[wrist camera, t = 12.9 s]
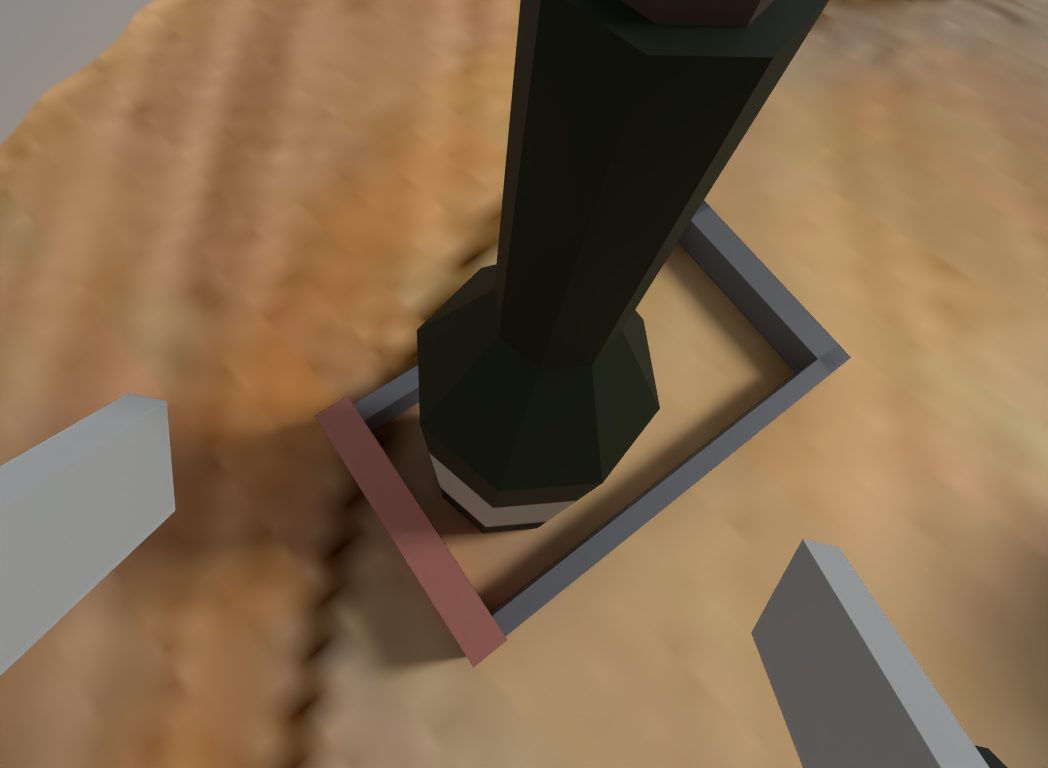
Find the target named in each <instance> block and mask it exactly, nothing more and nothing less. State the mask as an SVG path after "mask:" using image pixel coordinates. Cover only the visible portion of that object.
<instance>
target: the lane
mask: <svg viewBox="0 0 1048 768" xmlns="http://www.w3.org/2000/svg"><path fill="white" fill-rule="evenodd" d="M678 242H679V243H680V244H681V245H682V246H683V247H684V248H685V250H686V251H687V252H688V253H689V254H690V255H691V256H692V257H693V258H694V260H695V261H696V262H697V263H698V264H699V265H700V266H701V267H702V268H703V270H704V271H705V272H706V273H707V274H708V275H709V276H710V277H711V278H712V280H713V281H714V282H715V283H716V284H717V285H718V286H719V287H720V288H721V290H722V291H723V292H724V293H725V294H726V295H727V296H728V297H729V298H730V300H731V301H732V302H733V303H734V304H735V305H736V306H737V307H738V308H739V310H740V311H741V312H742V313H743V314H744V315H745V316H746V317H747V318H748V320H749V321H750V322H751V323H752V324H753V325H754V326H755V327H756V328H757V330H758V331H759V332H760V333H761V334H762V335H763V336H764V337H765V338H766V340H767V341H768V342H769V343H770V344H771V345H772V346H773V347H774V349H775V350H776V351H777V352H778V353H779V354H780V355H781V356H782V357H783V359H784V360H785V361H786V362H787V363H788V364H789V365H790V366H791V367H792V369H793V370H794V371H795V372H796V373H795V374H794V375H793V376H791V377H790V378H789V379H788V380H786V381H785V382H784V383H782V384H781V385H780V386H779V387H777V388H776V389H775V390H774V391H772V392H771V393H770V394H768V395H767V396H766V397H765V398H763V399H762V400H761V401H760V402H758V403H757V404H756V405H754V406H753V407H752V408H751V409H749V410H748V411H747V412H745V413H744V414H743V415H742V416H740V417H739V418H738V419H737V420H735V421H734V422H733V423H731V424H730V425H729V426H728V427H726V428H725V429H724V430H723V431H721V432H720V433H719V434H717V435H716V436H715V437H714V438H712V439H711V440H710V441H709V442H707V443H706V444H705V445H703V446H702V447H701V448H700V449H698V450H697V451H696V452H695V453H693V454H692V455H691V456H689V457H688V458H687V459H686V460H684V461H683V462H682V463H681V464H679V465H678V466H677V467H675V468H674V469H673V470H672V471H670V472H669V473H668V474H667V475H665V476H664V477H663V478H661V479H660V480H659V481H658V482H656V483H655V484H654V485H653V486H651V487H650V488H649V489H647V490H646V491H645V492H644V493H642V494H641V495H640V496H639V497H637V498H636V499H635V500H633V501H632V502H631V503H630V504H628V505H627V506H626V507H625V508H623V509H622V510H621V511H619V512H618V513H617V514H616V515H614V516H613V517H612V518H611V519H609V520H608V521H607V522H605V523H604V524H603V525H602V526H600V527H599V528H598V529H596V530H595V531H594V532H593V533H591V534H590V535H589V536H588V537H586V538H585V539H584V540H582V541H581V542H580V543H579V544H577V545H576V546H575V547H574V548H572V549H571V550H570V551H568V552H567V553H566V554H565V555H563V556H562V557H561V558H560V559H558V560H557V561H556V562H554V563H553V564H552V565H551V566H549V567H548V568H547V569H546V570H544V571H543V572H542V573H540V574H539V575H538V576H537V577H535V578H534V579H533V580H532V581H530V582H529V583H528V584H526V585H525V586H524V587H523V588H521V589H520V590H519V591H518V592H516V593H515V594H514V595H512V596H511V597H510V598H509V599H507V600H506V601H505V602H504V603H502V604H501V605H500V606H498V607H497V608H496V609H495V610H493V611H492V612H491V613H490V612H489V611H488V609H487V608H486V606H485V605H484V603H483V602H482V600H481V599H480V597H479V595H478V594H477V592H476V591H475V589H474V588H473V586H472V585H471V583H470V582H469V580H468V579H467V577H466V576H465V574H464V573H463V571H462V570H461V568H460V566H459V565H458V563H457V562H456V560H455V559H454V557H453V556H452V554H451V553H450V551H449V550H448V548H447V547H446V545H445V544H444V542H443V541H442V539H441V537H440V536H439V534H438V533H437V531H436V530H435V528H434V527H433V525H432V524H431V522H430V521H429V519H428V518H427V516H426V515H425V513H424V512H423V510H422V508H421V507H420V505H419V504H418V502H417V501H416V499H415V498H414V496H413V495H412V493H411V492H410V490H409V489H408V487H407V486H406V484H405V483H404V481H403V479H402V478H401V476H400V475H399V473H398V472H397V470H396V469H395V467H394V466H393V464H392V463H391V461H390V460H389V458H388V457H387V455H386V454H385V452H384V450H383V449H382V447H381V446H380V444H379V443H378V441H377V440H376V438H375V437H374V435H373V434H372V431H373V430H375V429H376V428H378V427H380V426H381V425H383V424H384V423H386V422H388V421H389V420H391V419H392V418H394V417H396V416H397V415H399V414H400V413H402V412H404V411H405V410H407V409H408V408H410V407H412V406H413V405H415V404H416V403H418V402H419V377H418V365H417V366H416V367H414V368H412V369H411V370H409V371H407V372H406V373H404V374H402V375H401V376H399V377H397V378H396V379H394V380H392V381H391V382H389V383H387V384H386V385H384V386H382V387H381V388H379V389H377V390H376V391H374V392H372V393H371V394H369V395H368V396H366V397H364V398H363V399H361V400H359V401H358V402H356V403H354V404H353V403H352V402H351V400H350V399H349V397H348V396H347V397H345V398H343V399H342V400H340V401H338V402H337V403H335V404H333V405H332V406H330V407H328V408H327V409H325V410H323V411H322V412H320V413H318V414H317V415H315V417H316V419H317V421H318V422H319V424H320V425H321V427H322V428H323V430H324V432H325V433H326V435H327V436H328V438H329V440H330V441H331V443H332V444H333V446H334V447H335V449H336V451H337V452H338V454H339V455H340V457H341V459H342V460H343V462H344V463H345V465H346V466H347V468H348V470H349V471H350V473H351V474H352V476H353V478H354V479H355V481H356V482H357V484H358V485H359V487H360V489H361V490H362V492H363V493H364V495H365V497H366V498H367V500H368V501H369V503H370V504H371V506H372V508H373V509H374V511H375V512H376V514H377V516H378V517H379V519H380V520H381V522H382V523H383V525H384V527H385V528H386V530H387V531H388V533H389V535H390V536H391V538H392V539H393V541H394V542H395V544H396V546H397V547H398V549H399V550H400V552H401V554H402V555H403V557H404V558H405V560H406V561H407V563H408V565H409V566H410V568H411V569H412V571H413V573H414V574H415V576H416V577H417V579H418V581H419V582H420V584H421V585H422V587H423V588H424V590H425V592H426V593H427V595H428V596H429V598H430V600H431V601H432V603H433V604H434V606H435V607H436V609H437V611H438V612H439V614H440V615H441V617H442V619H443V620H444V622H445V623H446V625H447V626H448V628H449V630H450V631H451V633H452V634H453V636H454V638H455V639H456V641H457V642H458V644H459V645H460V647H461V649H462V650H463V652H464V653H465V655H466V657H467V658H468V660H469V661H470V663H471V664H472V666H473V667H474V666H476V665H477V664H478V663H479V662H481V661H482V660H483V659H484V658H486V657H487V656H488V655H489V654H490V653H492V652H493V651H494V650H495V649H497V648H498V647H499V646H500V645H502V644H503V643H504V642H505V641H507V639H506V637H505V636H507V635H508V634H509V633H510V632H512V631H513V630H514V629H515V628H517V627H518V626H519V625H520V624H521V623H523V622H524V621H525V620H526V619H528V618H529V617H530V616H531V615H533V614H534V613H535V612H536V611H538V610H539V609H540V608H541V607H543V606H544V605H545V604H546V603H547V602H549V601H550V600H551V599H552V598H554V597H555V596H556V595H557V594H559V593H560V592H561V591H562V590H564V589H565V588H566V587H567V586H569V585H570V584H571V583H572V582H573V581H575V580H576V579H577V578H578V577H580V576H581V575H582V574H583V573H585V572H586V571H587V570H588V569H590V568H591V567H592V566H593V565H595V564H596V563H597V562H598V561H599V560H601V559H602V558H603V557H604V556H606V555H607V554H608V553H609V552H611V551H612V550H613V549H614V548H616V547H617V546H618V545H619V544H621V543H622V542H623V541H624V540H626V539H627V538H628V537H629V536H630V535H632V534H633V533H634V532H635V531H637V530H638V529H639V528H640V527H642V526H643V525H644V524H645V523H647V522H648V521H649V520H650V519H652V518H653V517H654V516H655V515H656V514H658V513H659V512H660V511H661V510H663V509H664V508H665V507H666V506H668V505H669V504H670V503H671V502H673V501H674V500H675V499H676V498H678V497H679V496H680V495H681V494H682V493H684V492H685V491H686V490H687V489H689V488H690V487H691V486H692V485H694V484H695V483H696V482H697V481H699V480H700V479H701V478H702V477H704V476H705V475H706V474H707V473H708V472H710V471H711V470H712V469H713V468H715V467H716V466H717V465H718V464H720V463H721V462H722V461H723V460H725V459H726V458H727V457H728V456H730V455H731V454H732V453H733V452H734V451H736V450H737V449H738V448H739V447H741V446H742V445H743V444H744V443H746V442H747V441H748V440H749V439H751V438H752V437H753V436H754V435H756V434H757V433H758V432H759V431H760V430H762V429H763V428H764V427H765V426H767V425H768V424H769V423H770V422H772V421H773V420H774V419H775V418H777V417H778V416H779V415H780V414H782V413H783V412H784V411H785V410H786V409H788V408H789V407H790V406H791V405H793V404H794V403H795V402H796V401H798V400H799V399H800V398H801V397H803V396H804V395H805V394H806V393H808V392H809V391H810V390H811V389H812V388H814V387H815V386H816V385H817V384H819V383H820V382H821V381H822V380H824V379H825V378H826V377H827V376H829V375H830V374H831V373H832V372H834V371H835V370H836V369H837V368H838V367H840V366H841V365H842V364H843V363H845V362H846V361H847V360H848V359H850V358H851V357H850V356H849V355H848V354H847V353H846V352H845V351H844V350H843V348H842V347H841V346H840V345H839V344H838V343H837V342H836V341H835V340H834V339H833V338H832V337H831V336H830V335H829V333H828V332H827V331H826V330H825V329H824V328H823V327H822V326H821V325H820V324H819V323H818V322H817V321H816V320H815V319H814V317H813V316H812V315H811V314H810V313H809V312H808V311H807V310H806V309H805V308H804V307H803V306H802V305H801V304H800V302H799V301H798V300H797V299H796V298H795V297H794V296H793V295H792V294H791V293H790V292H789V291H788V290H787V289H786V288H785V286H784V285H783V284H782V283H781V282H780V281H779V280H778V279H777V278H776V277H775V276H774V275H773V274H772V273H771V271H770V270H769V269H768V268H767V267H766V266H765V265H764V264H763V263H762V262H761V261H760V260H759V259H758V258H757V257H756V255H755V254H754V253H753V252H752V251H751V250H750V249H749V248H748V247H747V246H746V245H745V244H744V243H743V242H742V240H741V239H740V238H739V237H738V236H737V235H736V234H735V233H734V232H733V231H732V230H731V229H730V228H729V227H728V225H727V224H726V223H725V222H724V221H723V220H722V219H721V218H720V217H719V216H718V215H717V214H716V213H715V212H714V211H713V209H712V208H711V207H710V206H709V205H708V204H707V203H706V202H705V201H704V200H703V202H702V204H701V205H700V207H699V208H698V210H697V212H696V213H695V215H694V216H693V218H692V220H691V221H690V223H689V224H688V226H687V228H686V229H685V231H684V232H683V234H682V236H681V237H680V239H679V240H678Z"/></svg>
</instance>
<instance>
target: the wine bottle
mask: <svg viewBox="0 0 1048 768" xmlns="http://www.w3.org/2000/svg"><path fill="white" fill-rule="evenodd" d="M828 1H829V0H521V2H520V13H519V24H518V35H517V46H516V57H515V68H514V79H513V90H512V101H511V112H510V123H509V134H508V145H507V156H506V167H505V178H504V189H503V200H502V211H501V222H500V233H499V244H498V255H497V264H496V265H491V266H487V267H483V268H481V269H480V270H479V271H478V272H477V273H475V274H474V275H473V276H472V277H471V278H470V279H469V280H468V281H467V282H466V283H465V284H464V285H463V286H462V287H461V288H460V289H459V290H458V291H457V292H456V293H455V294H454V295H453V296H452V297H451V298H450V299H449V300H448V301H447V302H445V303H444V304H443V305H442V306H441V307H440V308H439V309H438V310H437V311H436V312H435V313H434V314H433V315H432V316H431V317H430V318H429V319H428V320H427V321H426V322H425V323H424V324H423V325H422V326H421V327H420V328H419V329H418V330H417V346H418V377H419V407H420V425H421V429H422V432H423V435H424V438H425V441H426V444H427V447H428V451H429V454H430V457H431V460H432V463H433V466H434V469H435V473H436V476H437V479H438V482H439V485H440V488H441V491H442V494H443V498H444V499H446V500H447V501H448V502H449V503H450V504H451V505H452V506H453V507H455V508H456V509H457V510H458V511H459V512H460V513H461V514H463V515H464V516H465V517H466V518H467V519H468V520H469V521H471V522H472V523H473V524H474V525H475V526H476V527H477V528H479V529H480V530H481V531H482V532H483V533H490V532H501V531H512V530H523V529H533V528H538V527H539V526H541V525H542V524H544V523H545V522H547V521H548V520H550V519H551V518H553V517H554V516H555V515H557V514H558V513H560V512H561V511H563V510H564V509H566V508H567V507H568V506H570V505H571V504H573V503H574V502H576V501H577V500H579V499H580V498H582V497H583V496H584V495H586V494H587V493H589V492H590V491H592V490H593V489H595V488H596V487H598V486H599V485H600V484H602V483H603V482H604V480H605V479H606V478H607V477H608V475H609V474H610V473H611V471H612V470H613V469H614V467H615V466H616V465H617V463H618V462H619V461H620V460H621V458H622V457H623V456H624V454H625V453H626V452H627V450H628V449H629V448H630V447H631V445H632V444H633V443H634V441H635V440H636V439H637V437H638V436H639V435H640V433H641V432H642V431H643V430H644V428H645V427H646V426H647V424H648V423H649V422H650V420H651V419H652V418H653V417H654V415H655V414H656V413H657V411H658V410H659V409H660V406H659V401H658V396H657V390H656V385H655V379H654V374H653V369H652V363H651V358H650V353H649V347H648V342H647V337H646V331H645V326H644V321H643V319H642V318H641V316H640V315H639V314H638V313H637V312H636V310H635V309H636V307H637V306H638V304H639V303H640V301H641V299H642V298H643V296H644V295H645V293H646V291H647V290H648V288H649V287H650V285H651V283H652V282H653V280H654V279H655V277H656V275H657V274H658V272H659V271H660V269H661V267H662V266H663V264H664V263H665V261H666V259H667V258H668V256H669V255H670V253H671V252H672V250H673V248H674V247H675V245H676V244H677V242H678V240H679V239H680V237H681V236H682V234H683V232H684V231H685V229H686V228H687V226H688V224H689V223H690V221H691V220H692V218H693V216H694V215H695V213H696V212H697V210H698V208H699V207H700V205H701V204H702V202H703V200H704V199H705V197H706V196H707V194H708V193H709V191H710V189H711V188H712V186H713V185H714V183H715V181H716V180H717V178H718V177H719V175H720V173H721V172H722V170H723V169H724V167H725V165H726V164H727V162H728V161H729V159H730V157H731V156H732V154H733V153H734V151H735V149H736V148H737V146H738V145H739V143H740V141H741V140H742V138H743V137H744V135H745V134H746V132H747V130H748V129H749V127H750V126H751V124H752V122H753V121H754V119H755V118H756V116H757V114H758V113H759V111H760V110H761V108H762V106H763V105H764V103H765V102H766V100H767V98H768V97H769V95H770V94H771V92H772V90H773V89H774V87H775V86H776V84H777V82H778V81H779V79H780V78H781V76H782V75H783V73H784V71H785V70H786V68H787V67H788V65H789V63H790V62H791V60H792V59H793V57H794V55H795V54H796V52H797V51H798V49H799V47H800V46H801V44H802V43H803V41H804V39H805V38H806V36H807V35H808V33H809V31H810V30H811V28H812V27H813V25H814V23H815V22H816V20H817V19H818V17H819V16H820V14H821V12H822V11H823V9H824V8H825V6H826V4H827V3H828Z"/></svg>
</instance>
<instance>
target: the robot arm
mask: <svg viewBox="0 0 1048 768" xmlns="http://www.w3.org/2000/svg"><path fill="white" fill-rule="evenodd" d="M174 512H175V499H174V487H173V475H172V462H171V450H170V437H169V425H168V413H167V401H163V400H158V399H153V398H149V397H144V396H139V395H135V394H130V393H128V394H126V395H124V396H122V397H121V398H119V399H117V400H115V401H114V402H112V403H110V404H108V405H107V406H105V407H103V408H101V409H100V410H98V411H96V412H94V413H93V414H91V415H89V416H87V417H86V418H84V419H82V420H80V421H79V422H77V423H75V424H73V425H72V426H70V427H68V428H66V429H64V430H63V431H61V432H59V433H57V434H56V435H54V436H52V437H50V438H49V439H47V440H45V441H43V442H42V443H40V444H38V445H36V446H35V447H33V448H31V449H29V450H28V451H26V452H24V453H22V454H21V455H19V456H17V457H15V458H14V459H12V460H10V461H8V462H7V463H5V464H3V465H1V466H0V675H2V674H3V673H4V672H5V671H6V670H7V669H8V668H9V667H10V666H11V665H12V664H13V663H14V662H15V661H16V660H17V659H19V658H20V657H21V656H22V655H23V654H24V653H25V652H26V651H27V650H28V649H29V648H30V647H31V646H32V645H33V644H34V643H36V642H37V641H38V640H39V639H40V638H41V637H42V636H43V635H44V634H45V633H46V632H47V631H48V630H49V629H50V628H51V627H52V626H54V625H55V624H56V623H57V622H58V621H59V620H60V619H61V618H62V617H63V616H64V615H65V614H66V613H67V612H68V611H69V610H71V609H72V608H73V607H74V606H75V605H76V604H77V603H78V602H79V601H80V600H81V599H82V598H83V597H84V596H85V595H86V594H88V593H89V592H90V591H91V590H92V589H93V588H94V587H95V586H96V585H97V584H98V583H99V582H100V581H101V580H102V579H103V578H105V577H106V576H107V575H108V574H109V573H110V572H111V571H112V570H113V569H114V568H115V567H116V566H117V565H118V564H119V563H120V562H122V561H123V560H124V559H125V558H126V557H127V556H128V555H129V554H130V553H131V552H132V551H133V550H134V549H135V548H136V547H137V546H139V545H140V544H141V543H142V542H143V541H144V540H145V539H146V538H147V537H148V536H149V535H150V534H151V533H152V532H153V531H154V530H156V529H157V528H158V527H159V526H160V525H161V524H162V523H163V522H164V521H165V520H166V519H167V518H168V517H169V516H170V515H171V514H173V513H174ZM752 636H753V638H754V641H755V644H756V646H757V649H758V651H759V654H760V657H761V659H762V662H763V664H764V667H765V670H766V672H767V675H768V678H769V680H770V683H771V685H772V688H773V691H774V693H775V696H776V698H777V701H778V704H779V706H780V709H781V711H782V714H783V717H784V719H785V722H786V724H787V727H788V730H789V732H790V735H791V738H792V740H793V743H794V745H795V748H796V751H797V753H798V756H799V758H800V761H801V764H802V766H803V768H1007V767H1006V766H1005V765H1004V764H1003V763H1002V762H1001V761H1000V760H999V759H998V758H997V757H996V756H995V755H994V754H993V753H992V752H991V751H990V750H989V749H988V748H984V747H979V746H974V744H973V743H972V741H971V740H970V738H969V737H968V736H967V734H966V733H965V731H964V730H963V728H962V727H961V725H960V724H959V722H958V721H957V719H956V718H955V717H954V715H953V714H952V712H951V711H950V709H949V708H948V706H947V705H946V703H945V702H944V700H943V699H942V697H941V696H940V695H939V693H938V692H937V690H936V689H935V687H934V686H933V684H932V683H931V681H930V680H929V678H928V677H927V675H926V674H925V673H924V671H923V670H922V668H921V667H920V665H919V664H918V662H917V661H916V659H915V658H914V656H913V655H912V654H911V652H910V651H909V649H908V648H907V646H906V645H905V643H904V642H903V640H902V639H901V637H900V636H899V634H898V633H897V632H896V630H895V629H894V627H893V626H892V624H891V623H890V621H889V620H888V618H887V617H886V615H885V614H884V612H883V611H882V610H881V608H880V607H879V605H878V604H877V602H876V601H875V599H874V598H873V596H872V595H871V593H870V592H869V591H868V589H867V588H866V586H865V585H864V583H863V582H862V580H861V579H860V577H859V576H858V574H857V573H856V571H855V570H854V569H853V567H852V566H851V564H850V563H849V561H848V560H847V558H846V557H845V555H844V554H843V552H842V551H841V549H840V548H839V547H837V546H832V545H828V544H823V543H818V542H814V541H809V540H805V539H802V541H801V543H800V545H799V547H798V549H797V550H796V552H795V554H794V556H793V558H792V560H791V561H790V563H789V565H788V567H787V569H786V570H785V572H784V574H783V576H782V578H781V580H780V581H779V583H778V585H777V587H776V589H775V591H774V592H773V594H772V596H771V598H770V600H769V602H768V603H767V605H766V607H765V609H764V611H763V612H762V614H761V616H760V618H759V620H758V622H757V623H756V625H755V627H754V629H753V631H752Z"/></svg>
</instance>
